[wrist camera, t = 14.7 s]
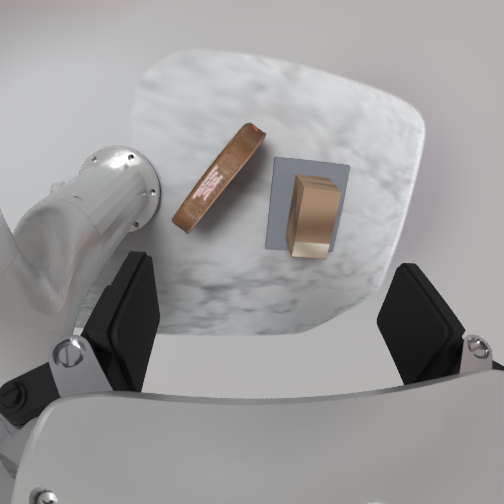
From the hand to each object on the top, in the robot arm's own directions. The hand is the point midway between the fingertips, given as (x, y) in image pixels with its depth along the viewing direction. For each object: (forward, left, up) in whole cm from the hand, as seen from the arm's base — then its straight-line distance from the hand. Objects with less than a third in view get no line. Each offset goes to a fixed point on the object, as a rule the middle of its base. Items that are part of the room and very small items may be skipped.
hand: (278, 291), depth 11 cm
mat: (+8, -7, -28) cm, 30 cm away
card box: (+8, -7, -28) cm, 30 cm away
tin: (-4, -3, -29) cm, 29 cm away
